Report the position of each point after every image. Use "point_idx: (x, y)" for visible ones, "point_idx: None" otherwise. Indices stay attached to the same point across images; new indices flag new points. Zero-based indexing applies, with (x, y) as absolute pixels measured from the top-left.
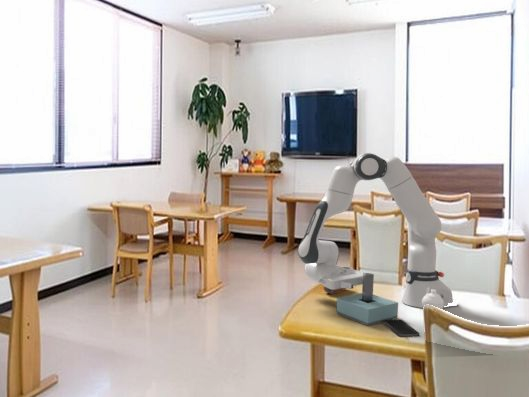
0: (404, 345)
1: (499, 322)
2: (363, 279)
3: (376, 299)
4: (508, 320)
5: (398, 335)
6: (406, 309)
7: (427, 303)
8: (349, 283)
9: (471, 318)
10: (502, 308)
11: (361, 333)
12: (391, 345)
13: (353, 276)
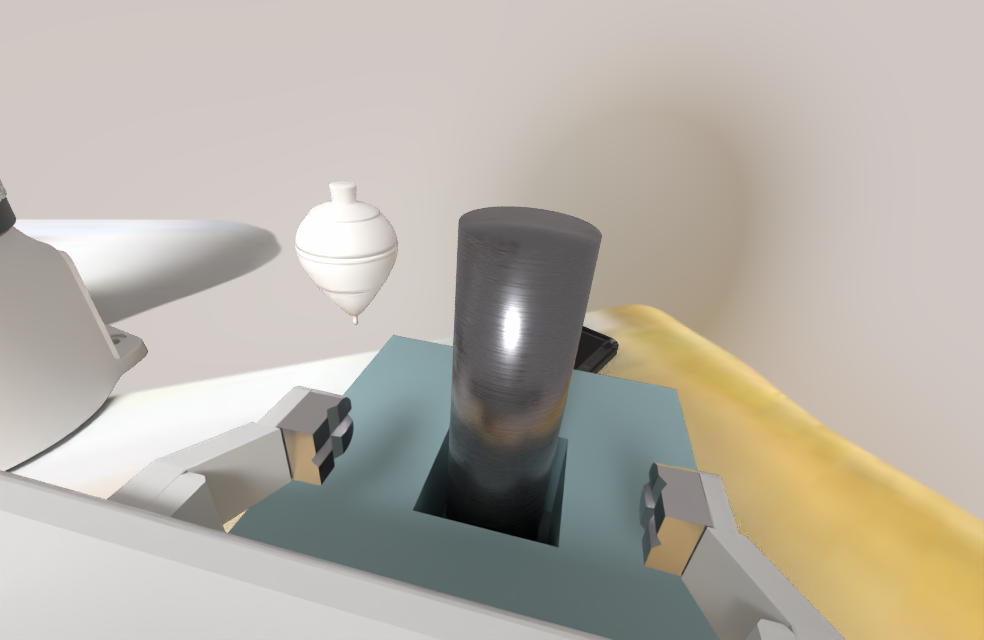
0: (665, 326)
1: (247, 240)
2: (584, 304)
3: (414, 432)
4: (213, 232)
5: (617, 349)
6: (172, 430)
7: (395, 245)
8: (694, 507)
9: (234, 271)
10: (49, 240)
11: (758, 446)
12: (709, 345)
13: (271, 621)
